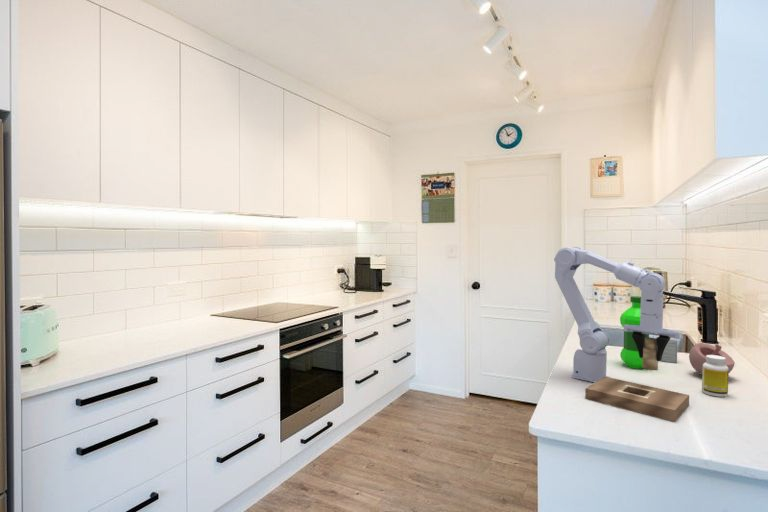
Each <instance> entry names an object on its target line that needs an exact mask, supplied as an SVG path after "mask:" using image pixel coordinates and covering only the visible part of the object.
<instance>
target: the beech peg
mask: <svg viewBox="0 0 768 512" xmlns="http://www.w3.org/2000/svg"><path fill="white" fill-rule="evenodd" d="M641 369H644V370H649V371H658V370H659V361H657V340H656V338H653V337H650V336H649V337H646V338H645V343H644V347H643V361H642V368H641Z"/></svg>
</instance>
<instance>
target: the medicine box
mask: <svg viewBox="0 0 768 512" xmlns="http://www.w3.org/2000/svg"><path fill="white" fill-rule="evenodd" d="M657 337H659V336H656V335H652V338H657ZM678 340H679V339H675V338H670V340H669V342H668V343H667V345H666V347H665V349H664V352H663V355H662V359H661V360H660V361H659V362H667V363H674V364H677V363H678Z"/></svg>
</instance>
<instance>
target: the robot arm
mask: <svg viewBox="0 0 768 512" xmlns="http://www.w3.org/2000/svg"><path fill="white" fill-rule="evenodd" d="M553 260H554V263H555V266H554V267H555V268H554V278H555V281H556V282H557V285H558V287H559V289H560V291H561V293H562V296H563V297H564V299H565V301H566V304H567V305H568V308H569V310H570V312H571V314H572V316H573V319H574V320H575V322H576V324H577V335H578V338H579V346H580V348H581V349H579V348H578V349H576V350H575V352H574V353H573V361H572V362H573V363H572V364H573V367H572V368H573V370H572V371H573V372H572V373H573V374H572V375H571V376H572V378H574V379H578V380H583V381H587V382H590V383H595V382H597V381H598V380H600V379H602V378H603V377H609V378H612V377H611V376H608V375H607V359H608V358H607V355H608V353H607V349H606V347H608V345H609V344H610V337H609V334H607V332H605V330H603V328H602V326H601V325H600V324H599V323H598V322H597V321H595V319H594V317H593V314H592V313H591V312H590V309H589V306H587V303H586V301H585V299H584V296H583V295H582V293H581V291H580V289H579V287H578V284H577V283H576V281H575V278H574V275H575V274H576V271H577V269H578V268H579V267H580V266H581V265H585V264H587V265H588V264H589V265H592V266H594V267H597V268H600V269H603V270H605V271H607V272H610V273H613V274H614V277H615V278H616V279H617V280H618V281H621V282H624V283H626V284H628V285H631V286H632V287H635V288H639V291H641V296H640V297H641V313H640V326H638V325H627V324H626V325H624V327H623V332H624V331H625V332H633V334H632V338H633V339H634V341H635V343H636V346H637V349H638V352H639V357H640V358H643V347H644V342H645V334H649V336H650V335H651V336H659V337H657V338H656V340H657V361H658V362H661V361H660V360H661V359H662V355H663V352H664V349H665V347H666V345H667V343H668V342H669V340H670V338H675V339H677V340H680V339H681V331H679V330H672V329H667V328H663V323H664V321H663V319H664V318H663V317H664V291H663V289H665V287H666V280H665V278H664V277H663V276H662V275H661V274H659V273H658V272H650V271H651V270H650V269H646V268H645V269H643V268H641V267H638V266H636V265H635V263H634V262H631V261H629V262H626V261H623V262H620V263H617V262H616V261H613V260H611V259H609V258H607V257H604V256H602V255H599V254H597V253H595V252H593V251H591V250H588V249H585V248H584V249H583V248H581V247H578V246H574V247H573V246H572V247H562V248H560V249H559V250H558V251H557V253H556V254H555V256H554V259H553Z"/></svg>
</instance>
